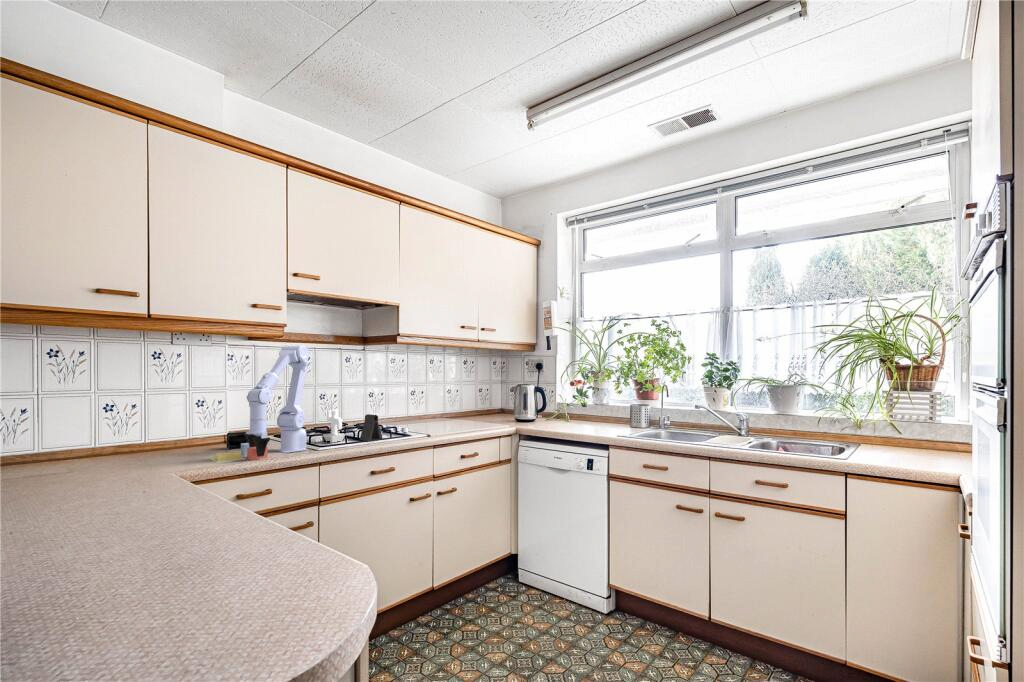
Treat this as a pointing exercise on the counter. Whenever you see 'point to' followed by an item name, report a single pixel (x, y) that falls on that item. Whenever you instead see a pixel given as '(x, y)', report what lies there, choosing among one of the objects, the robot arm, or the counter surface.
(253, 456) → the red brick
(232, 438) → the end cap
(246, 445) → the blue brick
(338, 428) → the figurine
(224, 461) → the baseplate
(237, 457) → the mustard brick
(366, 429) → the phone stand
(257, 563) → the counter surface
